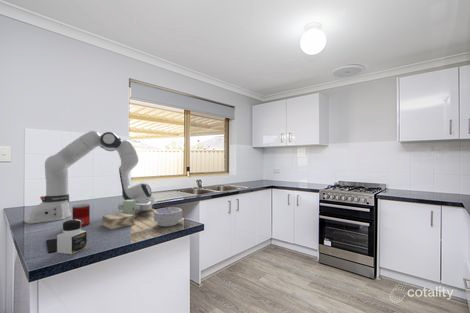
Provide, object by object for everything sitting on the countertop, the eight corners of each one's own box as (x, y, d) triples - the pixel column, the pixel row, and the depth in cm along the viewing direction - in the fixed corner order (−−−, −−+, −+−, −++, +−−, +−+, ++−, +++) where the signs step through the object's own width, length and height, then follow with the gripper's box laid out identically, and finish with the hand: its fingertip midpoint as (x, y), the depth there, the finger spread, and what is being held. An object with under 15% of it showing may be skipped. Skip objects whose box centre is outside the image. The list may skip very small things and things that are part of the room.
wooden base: (110, 229, 123) (110, 219, 123) (102, 224, 131) (102, 215, 131) (133, 224, 131) (133, 215, 131) (124, 220, 140) (124, 212, 140)
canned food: (92, 223, 134) (92, 204, 134) (79, 227, 126) (79, 207, 126) (82, 222, 136) (82, 203, 136) (69, 226, 128) (69, 206, 129)
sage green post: (123, 219, 142) (123, 201, 142) (127, 217, 147) (127, 199, 147) (131, 219, 142) (131, 201, 142) (135, 217, 147) (135, 199, 147)
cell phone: (48, 254, 92) (48, 252, 92) (46, 242, 106) (46, 240, 106) (75, 248, 98) (75, 246, 98) (70, 237, 111) (70, 235, 111)
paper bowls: (167, 230, 121) (167, 214, 121) (147, 225, 129) (147, 211, 129) (188, 222, 134) (187, 208, 134) (169, 219, 142) (169, 206, 142)
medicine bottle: (72, 254, 91) (71, 223, 91) (56, 253, 92) (56, 222, 92) (87, 247, 98) (87, 218, 98) (72, 246, 99) (72, 217, 99)
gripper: (124, 199, 158) (112, 203, 145) (154, 199, 157) (144, 203, 143) (124, 208, 158) (112, 213, 145) (154, 209, 157) (144, 214, 143)
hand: (128, 208), depth 144 cm, fingers closed on sage green post, 5 cm apart
